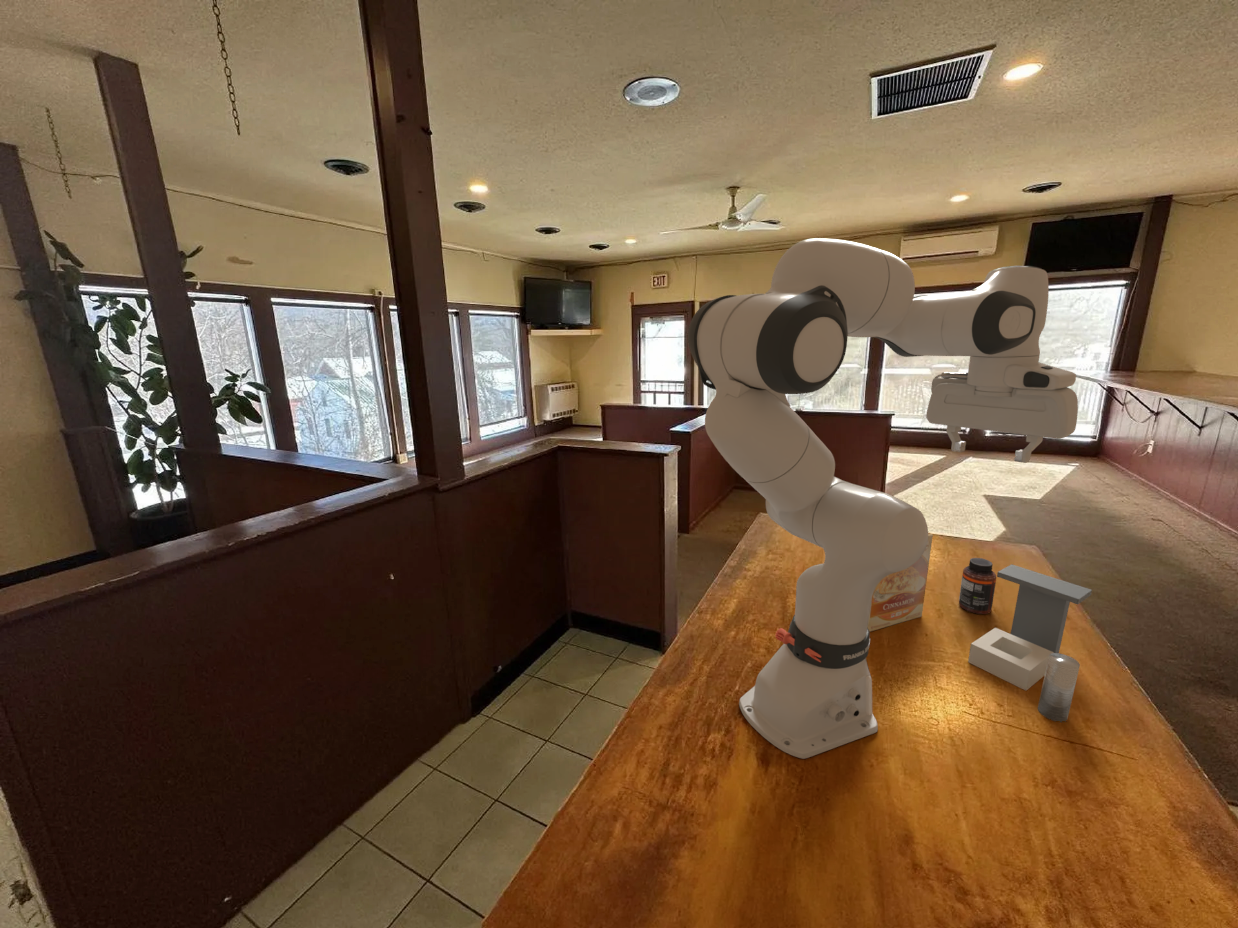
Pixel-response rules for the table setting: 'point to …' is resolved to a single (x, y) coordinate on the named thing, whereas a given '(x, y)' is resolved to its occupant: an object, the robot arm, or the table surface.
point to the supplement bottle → (977, 586)
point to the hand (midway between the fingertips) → (988, 456)
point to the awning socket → (1028, 628)
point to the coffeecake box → (900, 594)
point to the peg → (1058, 686)
